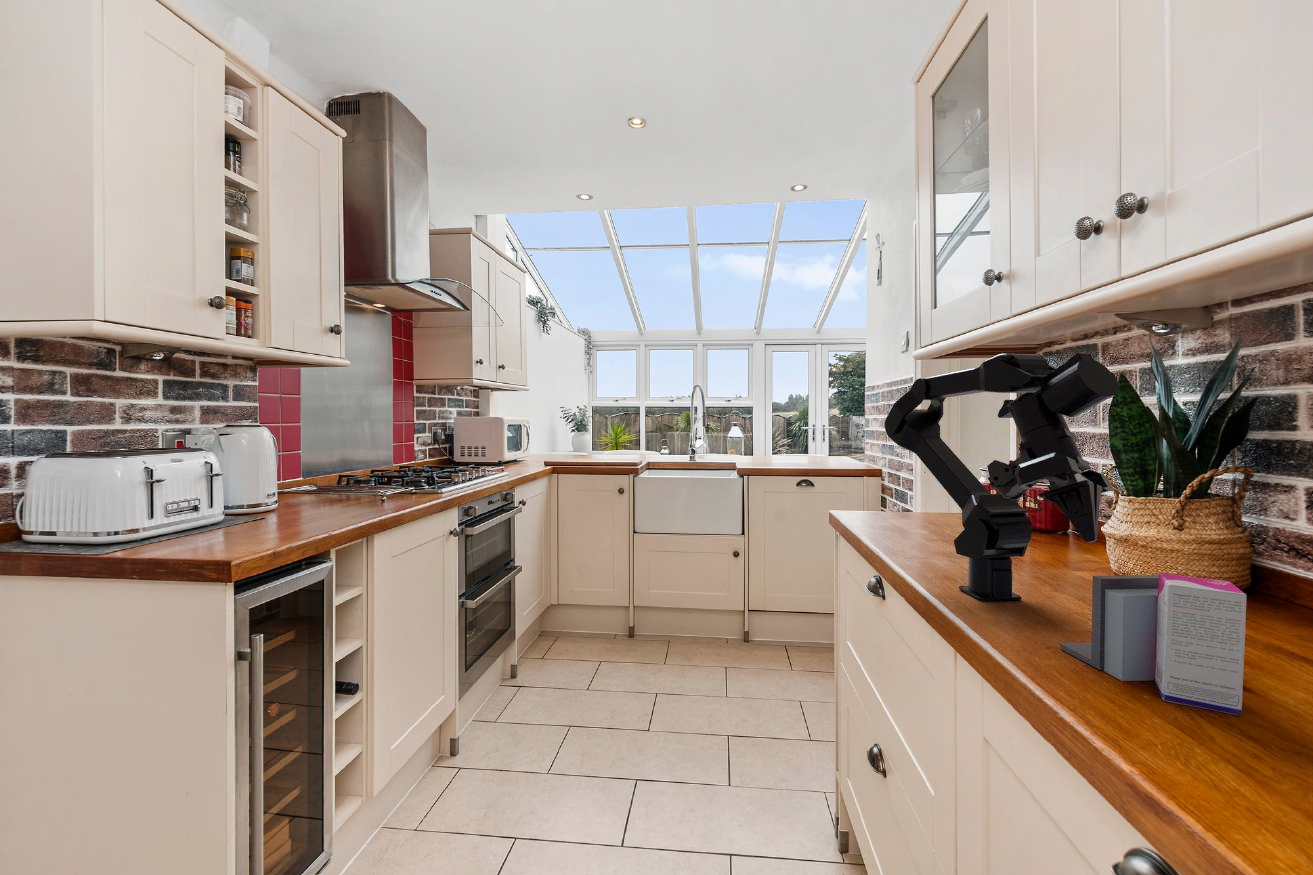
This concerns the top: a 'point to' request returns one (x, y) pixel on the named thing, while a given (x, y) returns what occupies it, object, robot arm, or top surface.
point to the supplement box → (1200, 642)
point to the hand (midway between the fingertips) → (1091, 541)
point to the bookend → (1095, 650)
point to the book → (1130, 633)
